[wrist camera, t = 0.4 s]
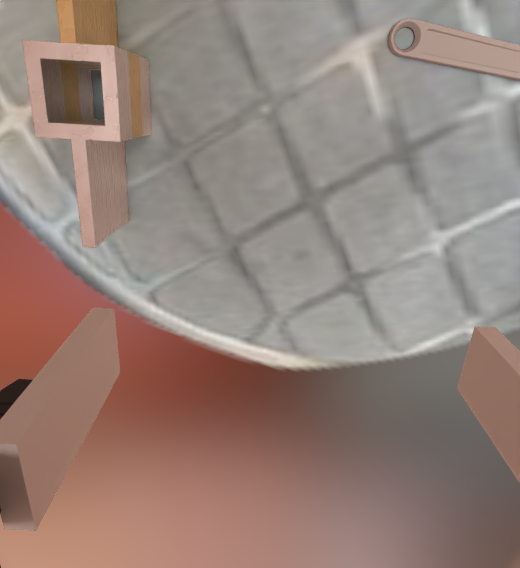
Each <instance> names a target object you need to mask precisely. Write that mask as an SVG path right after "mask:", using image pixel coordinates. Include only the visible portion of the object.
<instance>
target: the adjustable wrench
mask: <svg viewBox="0 0 520 568" xmlns="http://www.w3.org/2000/svg"><path fill="white" fill-rule="evenodd" d="M403 27H409V28H411V29H412V30H413V31H414V34H415V40H414V42H413V44H412V46H411V47H409V48H408V49H405V50H403V49H399V48H398V47H397V46H396V44H395V35H396V33H397V31H398V30H399V29H401V28H403ZM388 45H389V48H390V50H391V51H392V52H393V53H394V54H395V55H397V56H401V57H406V58H411V59H416V60H421V61H425V62H430V63H435V64H440V65H445V66H450V67H455V68H460V69H465V70H470V71H475V72H480V73H485V74H490V75H494V76H499V77H504V78H509V79H514V80H519V81H520V45H517V44H513V43H509V42H505V41H501V40H497V39H493V38H488V37H484V36H480V35H476V34H472V33H468V32H464V31H460V30H456V29H452V28H448V27H444V26H440V25H436V24H432V23H428V22H424V21H420V20H415V19H404V20H402V21H400V22H399V23H397V24H396V25H395V26H394V27H393V28H392V29H391V31H390V33H389V36H388Z"/></svg>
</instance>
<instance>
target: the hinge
mask: <svg viewBox="0 0 520 568" xmlns="http://www.w3.org/2000/svg"><path fill="white" fill-rule="evenodd" d="M56 2H57V12H58V21H59V30H60V40H61V43H60V42H44V41H28V40H22V41H23V48H24V55H25V63H26V70H27V77H28V85H29V92H30V99H31V107H32V114H33V121H34V129H35V136H36V137H47V138H64V139H71V143H72V152H73V161H74V171H75V180H76V190H77V199H78V208H79V218H80V227H81V236H82V246H83V247H94V248H96V247H97V246H98V245H99V244H100V243H102V242H103V241H104V240H105V239H106V238H108V237H109V236H110V235H111V234H112V233H114V232H115V231H116V230H117V229H118V228H120V227H121V226H122V225H123V224H124V223H126V222H127V221H128V220H129V208H128V192H127V176H126V160H125V143H124V141H126V140H130V139H134V138H139V137H143V136H147V135H151V134H152V132H151V106H150V81H149V60H148V59H146V58H143V57H141V56H138V55H136V54H133V53H131V52H128V51H126V50H123V49H121V48H119V47H118V30H117V14H116V0H56ZM91 69H95V70H101V76H102V89H103V102H104V115H105V120H101V119H95V113H94V101H93V89H92V78H91Z"/></svg>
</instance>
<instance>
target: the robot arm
mask: <svg viewBox="0 0 520 568" xmlns="http://www.w3.org/2000/svg"><path fill="white" fill-rule="evenodd" d="M119 373H120V366H119V355H118V345H117V334H116V324H115V313H114V309H112V308H92V309H91V310H90V312H89V313H88V314H87V315H86V316H85V318H84V319H83V320H82V321H81V322H80V324H79V325H78V326H77V327H76V329H75V330H74V331H73V332H72V333H71V335H70V336H69V337H68V338H67V339H66V341H65V342H64V343H63V344H62V346H61V347H60V348H59V349H58V350H57V352H56V353H55V354H54V355H53V357H52V358H51V359H50V360H49V361H48V362H47V364H46V365H45V366H44V367H43V368H42V370H41V371H40V372H39V373H38V375H37V376H36V377H35V378H34V380H26V379H18V380H16V381H15V382H14V383H12V384H10V385H9V386H7V387H5V388H4V389H2V390H1V391H0V514H1V518H2V522H3V525H4V529H7V530H29V531H36V530H37V528H38V526H39V524H40V522H41V520H42V518H43V517H44V515H45V513H46V511H47V509H48V507H49V505H50V503H51V501H52V500H53V498H54V496H55V494H56V492H57V490H58V488H59V486H60V485H61V483H62V481H63V479H64V477H65V475H66V473H67V471H68V469H69V467H70V466H71V464H72V462H73V460H74V458H75V456H76V454H77V453H78V451H79V449H80V447H81V445H82V443H83V441H84V439H85V437H86V435H87V434H88V432H89V430H90V428H91V426H92V424H93V422H94V420H95V419H96V417H97V415H98V413H99V411H100V409H101V407H102V405H103V404H104V402H105V400H106V398H107V396H108V394H109V392H110V390H111V388H112V387H113V385H114V383H115V381H116V379H117V377H118V375H119ZM457 389H458V391H459V392H460V394H461V395H462V397H463V398H464V400H465V401H466V403H467V404H468V406H469V407H470V409H471V410H472V412H473V413H474V414H475V416H476V418H477V419H478V421H479V422H480V424H481V425H482V427H483V428H484V430H485V431H486V433H487V434H488V436H489V437H490V439H491V440H492V442H493V443H494V445H495V446H496V448H497V449H498V451H499V452H500V454H501V455H502V457H503V458H504V460H505V461H506V463H507V464H508V466H509V467H510V469H511V471H512V472H513V474H514V475H515V477H516V478H517V480H518V481H519V483H520V351H518V349H517V348H516V347H515V346H514V345H513V344H512V343H511V342H510V341H509V340H508V339H507V338H506V337H505V336H504V335H503V334H502V333H501V332H500V331H499V330H498V329H497V328H495V327H474V331H473V334H472V338H471V341H470V345H469V348H468V352H467V356H466V359H465V363H464V366H463V370H462V373H461V377H460V380H459V384H458V388H457ZM0 568H1V566H0Z"/></svg>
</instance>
